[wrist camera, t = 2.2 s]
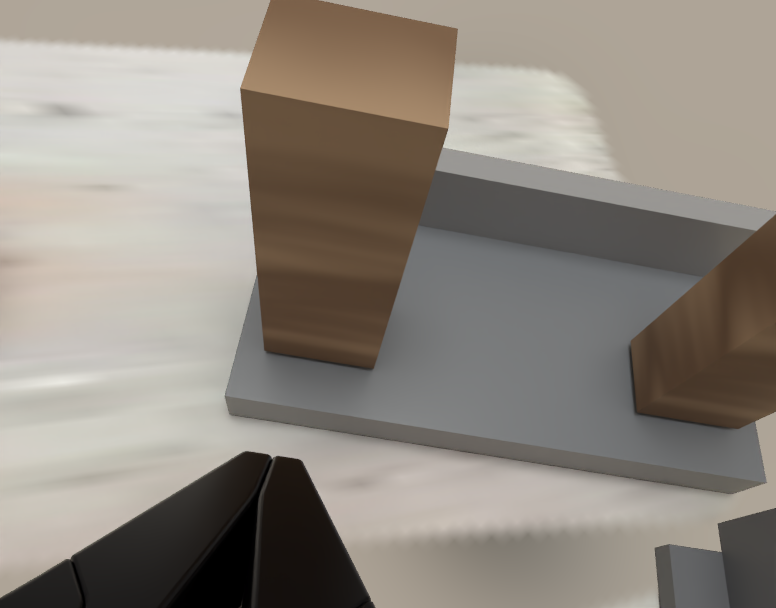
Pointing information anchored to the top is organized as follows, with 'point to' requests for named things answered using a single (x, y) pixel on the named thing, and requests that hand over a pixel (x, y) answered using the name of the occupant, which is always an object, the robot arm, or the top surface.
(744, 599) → the card
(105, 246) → the top surface
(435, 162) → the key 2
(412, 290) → the grey stepped base
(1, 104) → the top surface
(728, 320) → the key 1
